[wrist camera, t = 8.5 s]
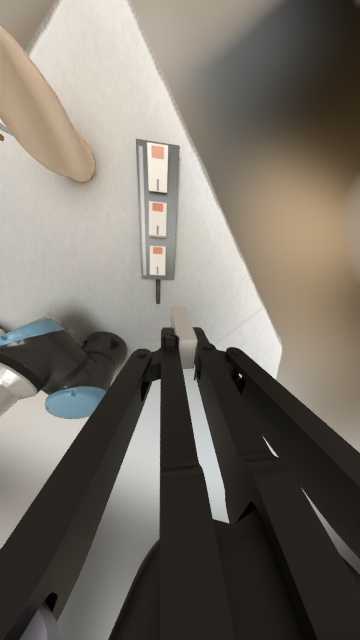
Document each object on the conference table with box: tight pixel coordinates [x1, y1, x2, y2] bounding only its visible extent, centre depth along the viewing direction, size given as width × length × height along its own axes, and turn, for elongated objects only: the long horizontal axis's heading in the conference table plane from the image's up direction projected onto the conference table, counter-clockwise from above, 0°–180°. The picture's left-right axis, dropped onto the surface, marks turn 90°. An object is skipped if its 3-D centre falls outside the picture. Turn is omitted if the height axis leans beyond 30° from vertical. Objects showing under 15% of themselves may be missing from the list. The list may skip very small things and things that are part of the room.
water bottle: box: [0, 26, 95, 182], centre depth 21 cm, size 10×9×28 cm
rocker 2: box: [149, 201, 167, 238], centre depth 35 cm, size 4×7×2 cm, turn 176°
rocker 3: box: [150, 246, 166, 276], centre depth 39 cm, size 4×7×2 cm, turn 176°
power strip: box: [136, 139, 180, 304], centre depth 41 cm, size 9×37×4 cm, turn 176°
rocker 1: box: [147, 142, 168, 193], centre depth 32 cm, size 4×7×2 cm, turn 176°
